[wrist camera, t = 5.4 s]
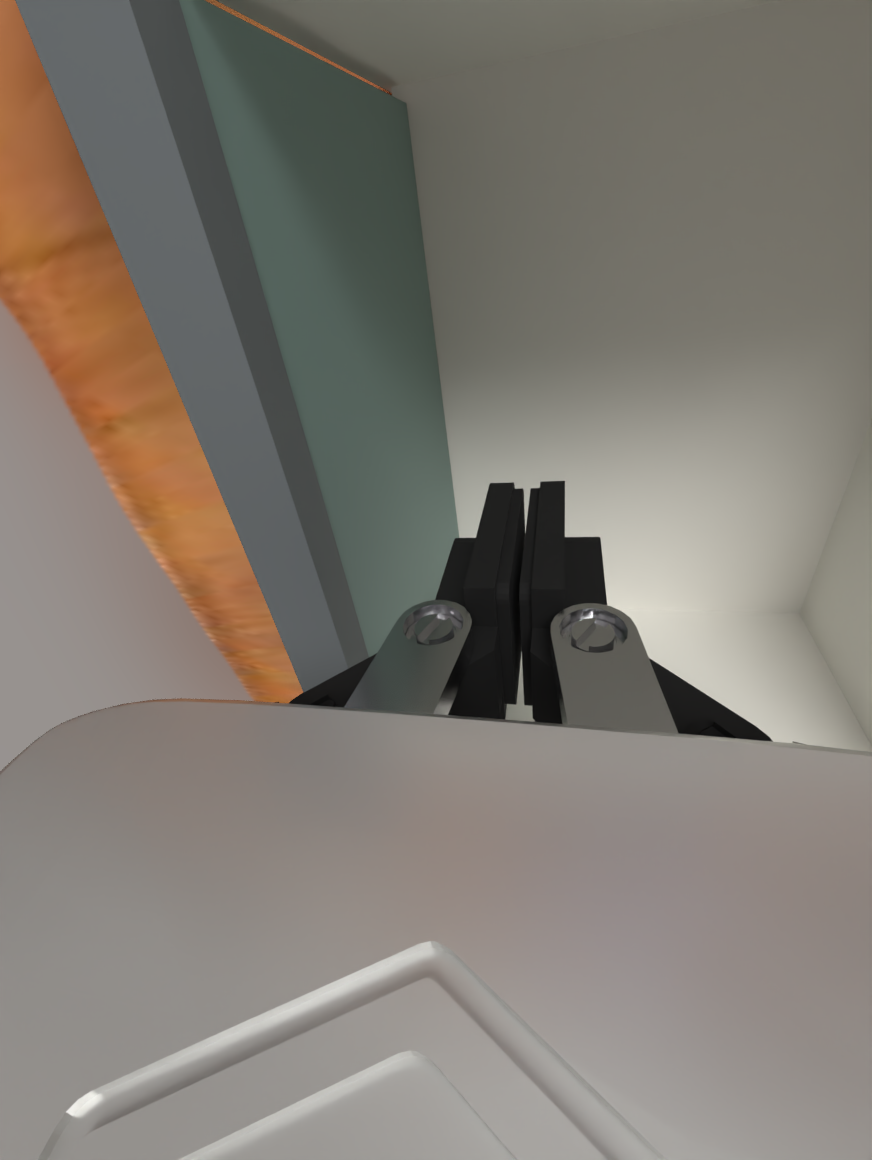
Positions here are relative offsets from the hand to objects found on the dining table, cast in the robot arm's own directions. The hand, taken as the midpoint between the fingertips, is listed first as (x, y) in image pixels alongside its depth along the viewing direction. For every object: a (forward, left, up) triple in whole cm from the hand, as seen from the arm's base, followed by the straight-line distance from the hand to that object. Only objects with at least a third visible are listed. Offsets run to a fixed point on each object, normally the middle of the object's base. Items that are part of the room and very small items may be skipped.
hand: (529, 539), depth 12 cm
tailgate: (0, -4, -9) cm, 10 cm away
